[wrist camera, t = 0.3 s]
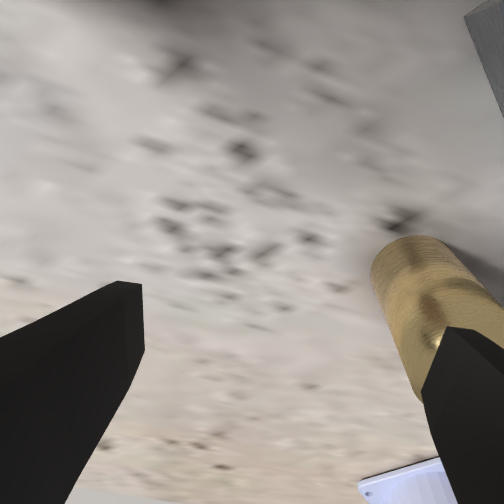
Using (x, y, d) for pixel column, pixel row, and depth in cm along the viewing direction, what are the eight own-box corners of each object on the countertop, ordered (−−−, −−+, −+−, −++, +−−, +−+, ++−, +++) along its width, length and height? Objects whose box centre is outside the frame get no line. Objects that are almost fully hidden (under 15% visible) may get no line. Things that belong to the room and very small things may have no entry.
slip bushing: (467, 284, 18) (564, 396, 12) (392, 317, 19) (441, 435, 13) (434, 220, 17) (521, 306, 10) (356, 260, 18) (391, 359, 12)
